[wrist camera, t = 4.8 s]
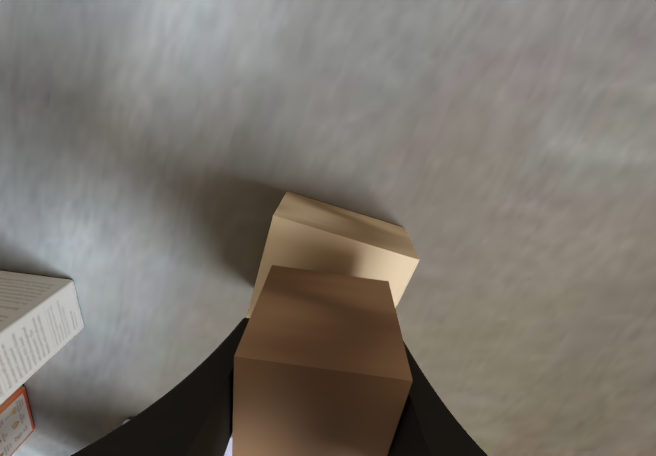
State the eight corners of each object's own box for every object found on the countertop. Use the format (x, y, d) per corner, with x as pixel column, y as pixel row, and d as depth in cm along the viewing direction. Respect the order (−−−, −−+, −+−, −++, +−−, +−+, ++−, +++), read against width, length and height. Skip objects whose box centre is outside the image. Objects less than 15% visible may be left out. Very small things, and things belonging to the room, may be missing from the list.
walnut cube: (265, 353, 15) (231, 465, 11) (272, 265, 13) (234, 356, 9) (366, 366, 15) (377, 484, 11) (388, 281, 13) (412, 380, 9)
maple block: (260, 288, 20) (242, 332, 16) (287, 189, 17) (273, 215, 14) (362, 317, 21) (366, 365, 17) (403, 226, 18) (419, 260, 14)
